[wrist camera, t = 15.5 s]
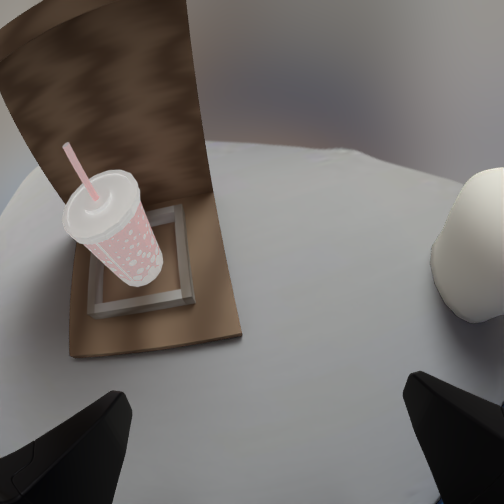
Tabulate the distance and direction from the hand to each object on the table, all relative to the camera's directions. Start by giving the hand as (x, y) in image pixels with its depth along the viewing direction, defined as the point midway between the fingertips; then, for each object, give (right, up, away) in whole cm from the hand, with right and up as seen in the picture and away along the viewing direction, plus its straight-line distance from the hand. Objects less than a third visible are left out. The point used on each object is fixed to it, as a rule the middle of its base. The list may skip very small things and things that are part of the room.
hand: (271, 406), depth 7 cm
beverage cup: (-11, +3, +17) cm, 20 cm away
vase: (+24, +2, +17) cm, 30 cm away
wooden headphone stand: (-11, +3, +18) cm, 21 cm away
